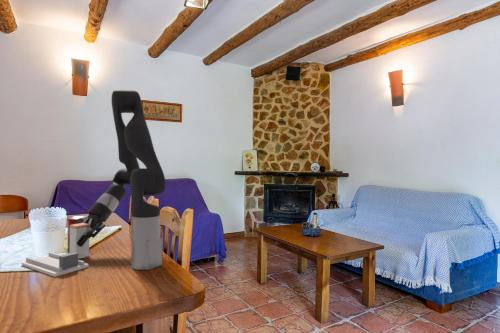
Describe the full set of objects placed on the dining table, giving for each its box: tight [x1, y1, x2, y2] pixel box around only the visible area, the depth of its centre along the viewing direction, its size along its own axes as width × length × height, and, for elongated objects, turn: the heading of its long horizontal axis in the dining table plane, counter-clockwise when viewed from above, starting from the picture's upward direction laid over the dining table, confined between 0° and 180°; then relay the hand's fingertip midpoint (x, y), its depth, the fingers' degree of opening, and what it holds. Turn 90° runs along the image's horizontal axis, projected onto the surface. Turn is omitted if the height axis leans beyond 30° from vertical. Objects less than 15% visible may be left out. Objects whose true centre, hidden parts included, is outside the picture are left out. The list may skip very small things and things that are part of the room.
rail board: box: [20, 252, 89, 278], centre depth 109 cm, size 20×11×5 cm, turn 60°
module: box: [69, 223, 90, 260], centre depth 119 cm, size 4×5×12 cm
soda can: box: [67, 215, 87, 249], centre depth 133 cm, size 7×7×12 cm
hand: (74, 244), depth 117 cm, fingers open, 4 cm apart
